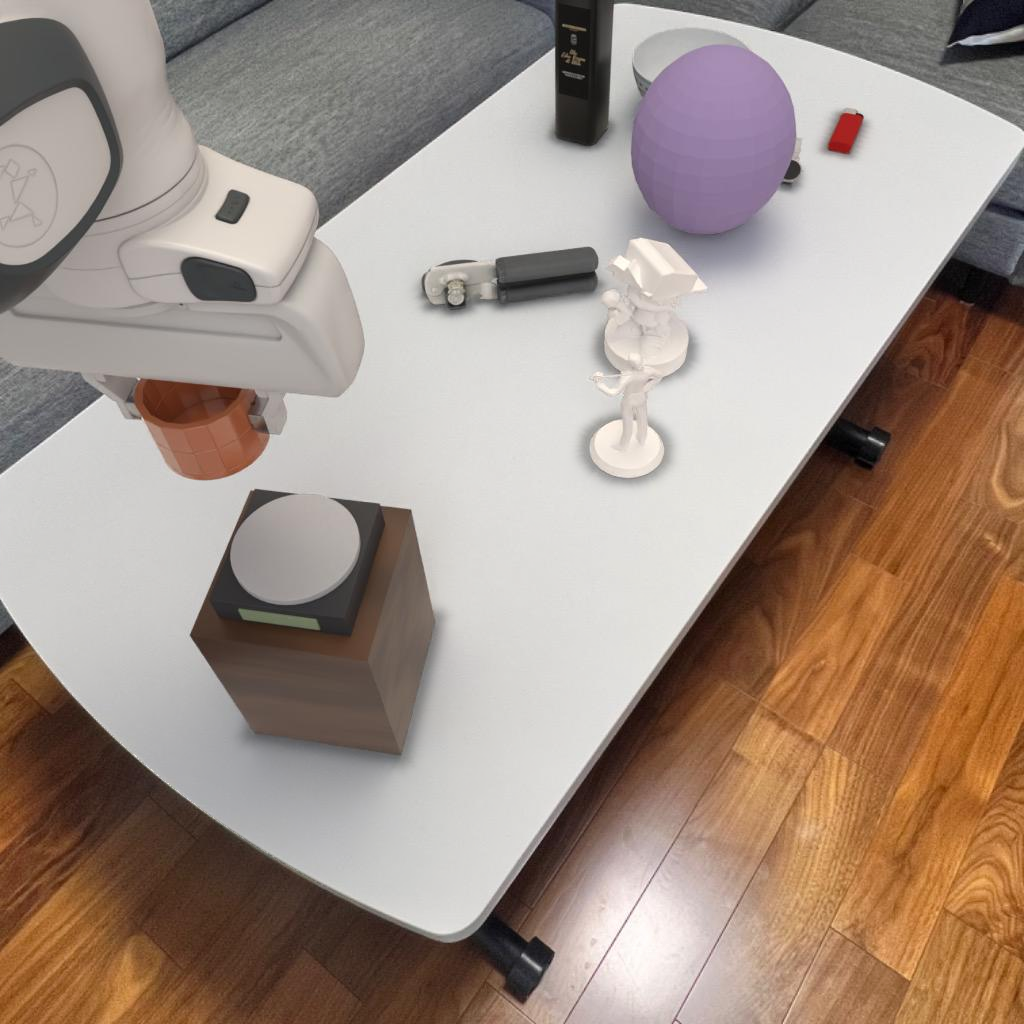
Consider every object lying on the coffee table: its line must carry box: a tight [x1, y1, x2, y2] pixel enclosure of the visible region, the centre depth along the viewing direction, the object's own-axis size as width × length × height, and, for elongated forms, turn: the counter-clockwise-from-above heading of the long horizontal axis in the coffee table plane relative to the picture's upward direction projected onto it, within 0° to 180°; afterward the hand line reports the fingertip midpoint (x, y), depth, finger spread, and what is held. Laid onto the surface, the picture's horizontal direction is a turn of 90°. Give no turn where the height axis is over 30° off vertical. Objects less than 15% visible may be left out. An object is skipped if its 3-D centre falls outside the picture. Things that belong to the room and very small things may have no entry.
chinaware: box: [631, 26, 753, 98], centre depth 118 cm, size 15×15×8 cm
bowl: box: [135, 378, 271, 481], centre depth 54 cm, size 6×6×4 cm
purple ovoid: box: [630, 44, 798, 235], centre depth 100 cm, size 17×17×20 cm
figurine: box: [588, 352, 665, 479], centre depth 84 cm, size 7×7×12 cm
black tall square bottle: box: [554, 0, 615, 146], centre depth 108 cm, size 6×6×30 cm
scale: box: [209, 488, 385, 636], centre depth 62 cm, size 9×9×3 cm
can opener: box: [421, 246, 599, 310], centre depth 101 cm, size 19×6×5 cm, turn 95°
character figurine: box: [600, 237, 708, 380], centre depth 92 cm, size 9×10×12 cm
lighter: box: [827, 107, 865, 154], centre depth 117 cm, size 3×1×8 cm
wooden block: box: [189, 489, 436, 756], centre depth 70 cm, size 12×12×16 cm
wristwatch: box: [782, 137, 804, 184], centre depth 111 cm, size 3×5×5 cm, turn 163°
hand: (208, 419), depth 55 cm, fingers closed on bowl, 6 cm apart
